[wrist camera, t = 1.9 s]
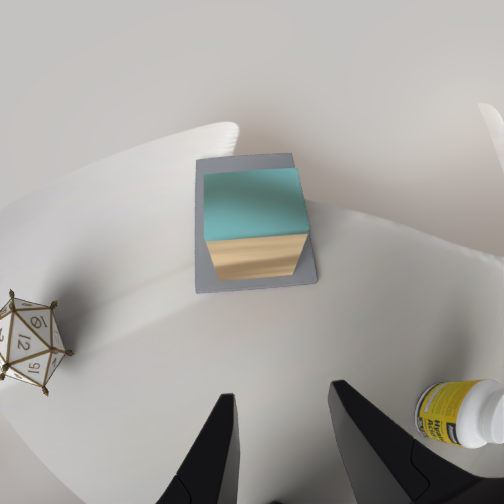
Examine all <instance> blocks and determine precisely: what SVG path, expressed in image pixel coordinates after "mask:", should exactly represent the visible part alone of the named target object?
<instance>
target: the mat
mask: <svg viewBox="0 0 504 504" xmlns="http://www.w3.org/2000/svg"><path fill="white" fill-rule="evenodd" d="M284 168H295V165H294V161H293V157H292V153H279V154H259V155H244V156H231V157H219V158H209V159H200V160H196V183H195V288H196V293H212V292H225V291H238V290H250V289H262V288H273V287H284V286H294V285H304V284H314V283H316V282H317V276H316V270H315V264H314V259H313V253H312V247H311V242H310V237H309V233H308V235H307V238H306V241H305V243H304V246H303V249H302V251H301V254H300V257H299V259H298V262H297V264H296V267H295V270H294V272H293V275H285V276H274V277H262V278H250V279H238V280H226V281H219V278H218V276H217V273H216V270H215V267H214V264H213V261H212V259H211V256H210V253H209V250H208V247H207V244H206V242H205V239H204V174H213V173H224V172H236V171H249V170H265V169H284Z"/></svg>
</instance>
